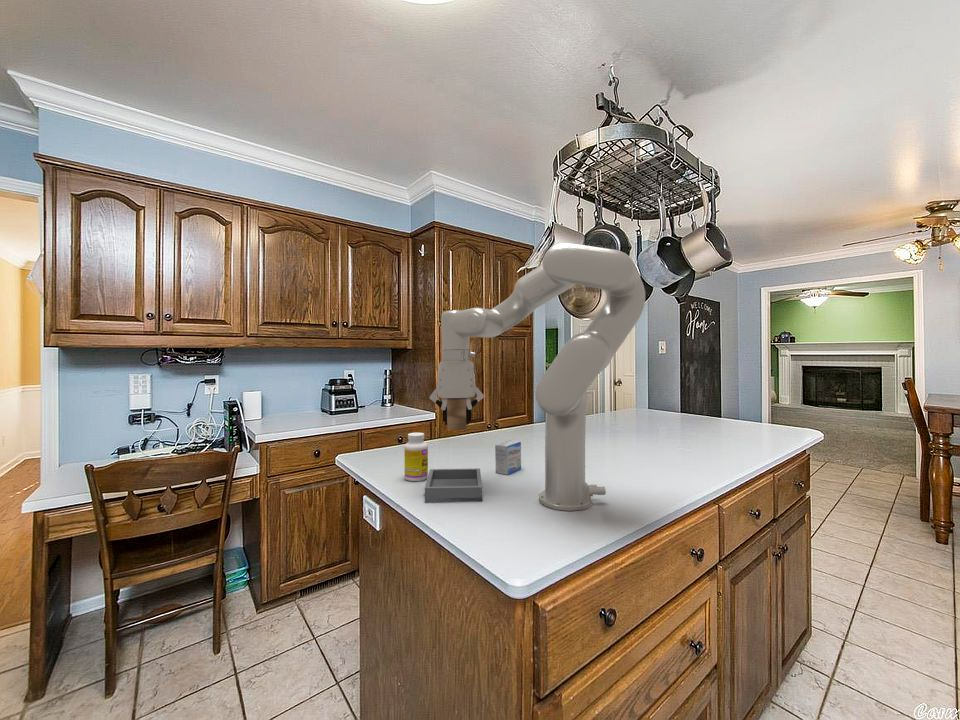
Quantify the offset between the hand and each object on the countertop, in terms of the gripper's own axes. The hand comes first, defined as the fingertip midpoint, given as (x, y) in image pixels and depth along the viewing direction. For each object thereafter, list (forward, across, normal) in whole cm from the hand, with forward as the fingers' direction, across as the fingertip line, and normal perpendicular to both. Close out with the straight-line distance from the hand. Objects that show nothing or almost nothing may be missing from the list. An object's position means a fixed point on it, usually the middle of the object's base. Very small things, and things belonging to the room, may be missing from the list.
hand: (457, 423), depth 111 cm
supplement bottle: (+17, +12, -7) cm, 22 cm away
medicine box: (+17, -14, -14) cm, 27 cm away
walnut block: (+1, 0, 0) cm, 1 cm away
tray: (+17, +1, +4) cm, 18 cm away
